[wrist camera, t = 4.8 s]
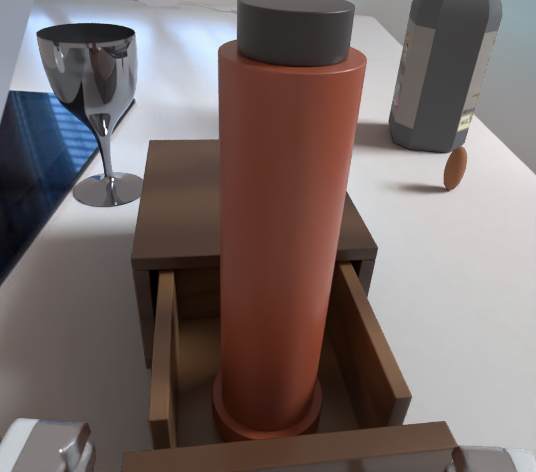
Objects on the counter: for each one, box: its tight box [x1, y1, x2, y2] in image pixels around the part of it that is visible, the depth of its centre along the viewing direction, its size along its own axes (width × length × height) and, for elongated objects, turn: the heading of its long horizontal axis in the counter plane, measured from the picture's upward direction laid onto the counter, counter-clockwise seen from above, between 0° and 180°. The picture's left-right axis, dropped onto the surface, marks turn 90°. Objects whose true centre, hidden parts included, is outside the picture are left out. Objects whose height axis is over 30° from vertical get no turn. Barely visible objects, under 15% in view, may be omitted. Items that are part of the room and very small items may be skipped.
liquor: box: [389, 0, 502, 153], centre depth 56 cm, size 9×9×30 cm
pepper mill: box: [212, 0, 367, 443], centre depth 20 cm, size 6×6×20 cm
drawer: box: [121, 260, 458, 472], centre depth 23 cm, size 19×12×7 cm, turn 8°
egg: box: [444, 147, 467, 190], centre depth 51 cm, size 2×2×5 cm
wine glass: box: [37, 23, 143, 207], centre depth 45 cm, size 8×8×15 cm
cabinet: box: [131, 140, 378, 368], centre depth 35 cm, size 16×14×9 cm
